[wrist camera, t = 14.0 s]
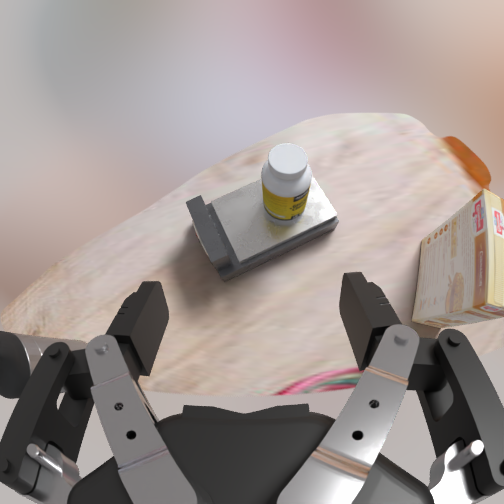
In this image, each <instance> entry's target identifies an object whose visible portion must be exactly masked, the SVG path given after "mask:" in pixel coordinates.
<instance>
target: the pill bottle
mask: <svg viewBox="0 0 504 504" xmlns="http://www.w3.org/2000/svg"><path fill="white" fill-rule="evenodd" d="M261 178H262V193H263V204H264V208H265V210H266V212H267V213H268V214H269V215H270V216H271V217H272V218H274V219H276V220H279V221H291V220H294V219H296V218H298V217H299V216H300V215H301V214H302V213H303V211H304V210H305V207H306V203H307V198H308V194H309V190H310V185H311V181H312V171H311V168H310V166H309V165H308V157H307V154H306V152H305V151H304V150H303V149H302V148H301V147H299V146H297V145H295V144H291V143H283V144H279V145H277V146H275V147H274V148H272V150H271V151H270V153H269V155H268V160H267V162H266V163H265V164H264V166H263V168H262V174H261Z"/></svg>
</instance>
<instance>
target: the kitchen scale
mask: <svg viewBox="0 0 504 504" xmlns="http://www.w3.org/2000/svg"><path fill="white" fill-rule="evenodd" d="M186 204H187V207H188V209H189V212H190V214H191V216H192V219H193V220H192V223H193V226H194V229H195V231H196V236H197V237H198V238H199V241H200V243H201V244H202V246H203V248H204V250H205V252H206V254H207V256H208V257H209V259H210V261H211V263H212V264H213V265H214V267H215V268H216V269H217V271H218V272H219V274H220V276H221V278H222V279H223V281H224V282H225V281H227V280H229V279H231V278H233V277H236V276H238V275H240V274H242V273H244V272H246V271H248V270H250V269H252V268H255V267H257V266H259V265H261V264H263V263H265V262H267V261H269V260H271V259H273V258H275V257H277V256H280V255H282V254H284V253H286V252H288V251H290V250H292V249H294V248H296V247H298V246H300V245H302V244H304V243H306V242H308V241H310V240H313V239H315V238H317V237H319V236H321V235H323V234H325V233H327V232H329V231H331V230H333V229H335V228H336V226H337V224H338V222H339V220H338V219H337V217H336V218H335V219H333V220H331V221H329V222H327V223H325V224H323V225H321V226H319V227H317V228H314V229H312V230H310V231H308V232H306V233H304V234H302V235H300V236H298V237H296V238H294V239H291V240H289V241H287V242H285V243H283V244H281V245H279V246H277V247H275V248H273V249H270V250H268V251H266V252H264V253H262V254H260V255H258V256H256V257H254V258H252V259H249V260H247V261H245V262H243V263H241V264H240V262H239V260H238V258H237V256H236V254H235V252H234V250H233V248H232V245H231V243H230V241H229V239H228V237H227V235H226V233H225V231H224V229H223V226H222V224H221V222H220V220H219V218H218V216H217V214H216V212H215V209H214V207H213V205H212V203H209V204H207V205H205V203H204V201H203V199H202V197H201V195H200V196H198V197H196V198H193V199H191V200H189V201H187V202H186Z"/></svg>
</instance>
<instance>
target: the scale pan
mask: <svg viewBox="0 0 504 504" xmlns="http://www.w3.org/2000/svg"><path fill="white" fill-rule="evenodd" d="M211 203H212V205H213V207H214V209H215V212H216V214H217V216H218V218H219V220H220V222H221V224H222V226H223V229H224V231H225V233H226V235H227V237H228V239H229V241H230V243H231V245H232V248H233V250H234V252H235V254H236V256H237V258H238V260H239V262H240V264H241V263H243V262H245V261H247V260H249V259H252V258H254V257H256V256H258V255H260V254H262V253H264V252H266V251H268V250H270V249H273V248H275V247H277V246H279V245H281V244H283V243H285V242H287V241H289V240H291V239H294V238H296V237H298V236H300V235H302V234H304V233H306V232H308V231H310V230H312V229H314V228H317V227H319V226H321V225H323V224H325V223H327V222H329V221H331V220H333V219H335V218H336V217H337V215H338V214H337V213H336V211H335V210H334V208H333V207H332V205H331V203H330V202H329V200H328V199H327V197H326V196H325V194H324V193H323V191H322V190H321V188H320V187H319V185H318V184H317V182H316V181H315V179H314V178H313V176H312V181H311V185H310V190H309V194H308V198H307V203H306V207H305V210H304V211H303V213H302V214H301V215H300V216H299V217H298V218H296V219H294V220H291V221H279V220H276V219H274V218H272V217H271V216H270V215H269V214H268V213H267V212H266V210H265V208H264V204H263V193H262V179H261V180H258V181H256V182H254V183H251V184H249V185H247V186H245V187H242V188H240V189H238V190H235V191H233V192H231V193H229V194H227V195H224V196H222V197H220V198H218V199H216V200H214V201H211Z"/></svg>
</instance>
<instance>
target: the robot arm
mask: <svg viewBox="0 0 504 504" xmlns="http://www.w3.org/2000/svg"><path fill="white" fill-rule="evenodd" d="M339 309H340V315H341V318H342V321H343V323H344V326H345V329H346V332H347V335H348V338H349V341H350V344H351V346H352V349H353V352H354V355H355V358H356V361H357V364H358V368H359V371H361V370H365V371H364V372H363V374H362V376H361V378H360V380H359V382H358V384H357V385H356V387H355V389H354V391H353V393H352V394H351V396H350V398H349V399H348V401H347V403H346V404H345V406H344V408H343V409H342V411H341V413H340V414H339V416H338V418H337V419H336V420H335V419H333V418H331V417H329V416H326V415H323V414H319V413H315V412H309V405H308V404H298V405H284V406H275V407H271V408H268V409H264V410H260V411H256V412H252V413H246V414H242V413H238V412H233V411H229V410H225V409H221V408H217V407H210V406H189V405H184V407H183V413H181V414H177V415H172V416H169V417H167V418H164V419H162V420H161V421H159V420H158V418H157V416H156V415H155V413H154V411H153V410H152V407H151V406H150V404H149V402H148V400H147V398H146V396H145V394H144V392H143V390H142V388H141V386H140V384H139V382H138V379H139V376H140V375H142V376H150V373H151V370H152V367H153V364H154V361H155V358H156V355H157V352H158V349H159V346H160V343H161V340H162V338H163V335H164V332H165V329H166V326H167V324H168V320H169V310H168V306H167V303H166V299H165V296H164V292H163V289H162V285H161V283H160V282H159V281H144V282H142V284H141V285H140V287H139V289H138V291H137V292H133V293H132V294H131V295H130V296H129V297H127V298H126V299H125V301H124V302H123V304H122V306H121V308H120V309H119V311H118V313H117V314H116V316H115V318H114V320H113V321H112V323H111V325H110V327H109V328H108V330H107V332H106V334H105V335H100V336H97V337H95V338H94V339H92V340H91V341H90V342H89V343H88V344H87V343H85V342H83V341H79V340H68V339H58V338H48V337H40V336H32V335H23V334H16V333H10V332H4V331H0V395H1V396H3V397H5V398H10V399H14V398H19V400H18V402H17V404H16V406H15V408H14V410H13V413H12V415H11V417H10V420H9V422H8V424H7V427H6V429H5V432H4V434H3V436H2V439H1V442H0V482H2V483H3V484H5V485H6V486H8V487H10V488H11V489H13V490H15V491H16V492H17V493H19V494H20V495H22V496H24V497H26V498H28V499H29V500H31V501H34V502H35V503H37V504H476V503H478V502H480V501H482V500H484V499H486V498H488V497H490V496H492V495H493V494H495V493H497V492H499V491H501V490H502V489H504V408H503V405H502V403H501V401H500V399H499V397H498V395H497V392H496V390H495V388H494V386H493V384H492V382H491V380H490V378H489V376H488V375H487V373H486V371H485V369H484V367H483V365H482V363H481V361H480V360H479V358H478V356H477V354H476V353H475V351H474V349H473V347H472V346H471V344H470V342H469V341H468V339H467V337H466V336H465V335H464V334H463V333H461V332H460V331H458V330H455V329H445V330H443V331H442V332H441V333H440V334H439V336H438V338H437V339H431V338H420V337H419V336H418V334H417V332H416V331H415V330H414V329H412V328H411V327H409V326H406V325H402V324H401V322H400V320H399V318H398V317H397V315H396V313H395V311H394V310H393V308H392V306H391V305H390V304H389V301H388V299H387V298H386V297H385V294H384V293H383V291H382V290H381V288H380V287H378V286H377V285H376V284H374V283H373V282H367V281H366V279H365V277H364V276H363V274H362V272H351V273H344V275H343V279H342V287H341V295H340V302H339ZM406 390H416V392H417V394H418V397H419V400H420V403H421V406H422V409H423V412H424V416H425V419H426V422H427V425H428V429H429V432H430V435H431V439H432V442H433V446H434V450H435V454H436V458H437V459H436V460H435V461H434V462H433V464H432V466H431V469H430V483H429V486H428V487H427V486H426V485H425V484H424V483H422V482H421V481H419V480H418V479H416V478H415V477H413V476H412V475H410V474H409V473H408V472H406V471H405V470H403V469H402V468H400V467H399V466H397V465H396V464H395V463H393V462H392V461H390V460H389V459H388V458H386V457H385V456H384V455H382V454H381V453H380V452H379V451H380V449H381V447H382V445H383V443H384V441H385V439H386V437H387V435H388V433H389V430H390V428H391V426H392V424H393V421H394V419H395V417H396V414H397V412H398V409H399V407H400V405H401V402H402V399H403V397H404V394H405V391H406ZM63 392H65V395H64V397H63V400H62V402H61V404H60V407H59V409H57V399H58V396H59V394H60V393H63ZM94 403H95V405H96V409H97V412H98V415H99V418H100V421H101V424H102V427H103V429H104V432H105V434H106V437H107V440H108V442H109V445H110V447H111V450H112V452H113V455H114V456H113V457H112V458H110V459H109V460H108V461H106V462H105V463H104V464H102V465H101V466H100V467H98V468H97V469H96V470H94V471H93V472H91V473H90V474H88V475H87V476H85V477H84V478H83V479H82V478H81V477H80V476H79V469H78V467H77V465H76V461H77V458H78V454H79V450H80V447H81V443H82V440H83V437H84V433H85V430H86V427H87V424H88V421H89V417H90V414H91V411H92V408H93V405H94Z"/></svg>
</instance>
